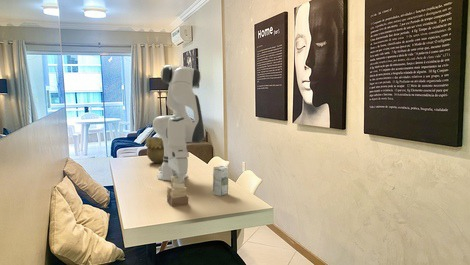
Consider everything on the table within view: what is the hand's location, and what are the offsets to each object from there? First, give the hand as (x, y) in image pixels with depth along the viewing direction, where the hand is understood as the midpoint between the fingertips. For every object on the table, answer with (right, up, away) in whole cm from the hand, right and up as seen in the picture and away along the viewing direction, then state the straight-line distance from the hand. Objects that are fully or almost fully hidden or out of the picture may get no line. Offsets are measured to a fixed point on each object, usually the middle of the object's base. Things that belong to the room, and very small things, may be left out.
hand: (177, 180), depth 168 cm
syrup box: (+20, -10, +17) cm, 28 cm away
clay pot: (-29, -1, +100) cm, 104 cm away
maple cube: (0, -4, +1) cm, 4 cm away
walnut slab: (0, -12, +1) cm, 12 cm away
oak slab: (0, -8, +1) cm, 8 cm away
